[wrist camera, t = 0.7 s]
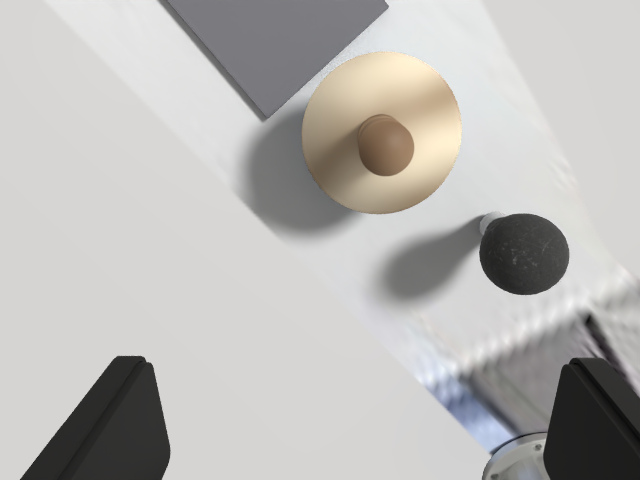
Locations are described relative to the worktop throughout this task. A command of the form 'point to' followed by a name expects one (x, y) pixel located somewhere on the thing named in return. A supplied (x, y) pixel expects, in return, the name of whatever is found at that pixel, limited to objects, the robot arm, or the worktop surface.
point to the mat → (276, 39)
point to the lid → (381, 132)
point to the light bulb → (522, 252)
